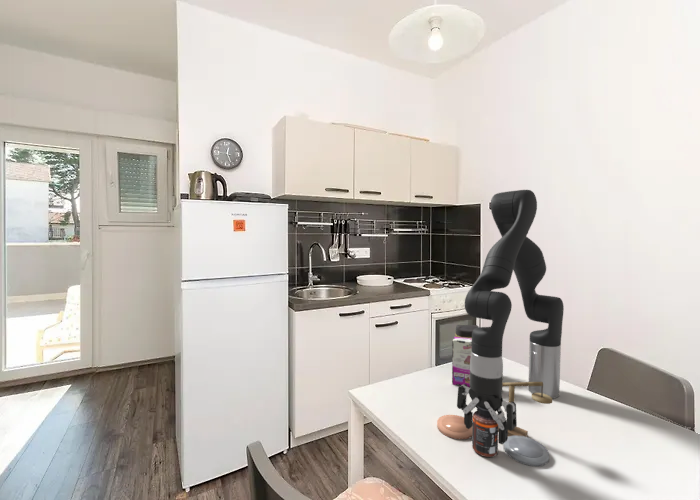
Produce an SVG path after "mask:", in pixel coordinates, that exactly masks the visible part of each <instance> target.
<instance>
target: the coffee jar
mask: <svg viewBox="0 0 700 500" xmlns="http://www.w3.org/2000/svg"><path fill="white" fill-rule="evenodd" d="M478 327H479V326H478V325H476V324H475V325H474V324H457V325H456V327H455V332H454V335H455V336H454V337H461V338H471V339H472V332H473V330H474V329H475V328H478Z"/></svg>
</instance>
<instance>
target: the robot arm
mask: <svg viewBox="0 0 700 500" xmlns="http://www.w3.org/2000/svg"><path fill="white" fill-rule="evenodd" d="M537 209H538V201H537V197H536V194H535V192H534V191H532V190H531V189H518V190H511V191H502V192H498V193H495V194H494V195H493V196H492V197H491V200H490V210H491V215H492V218H493V221H494V223H495V226H496V227H497V229H498V232H499V234H500V236H501V238H500V239H498V240H497V241H496V242H495V244H493V246H491V248H490V249H489V251H488V253H487V255H486V257H485V259H484V264H483V265H482V266H483V267H482V270H481V273H480V275H478V278H477V279H476V281H475V282H474V283H473V285H472V286H471V287H470V289H469V290H468V292H467V293H466V296H465V298H464V308H465V313H466V314H467V315H469V316H470V317H472V318H477V319H482V320H487V321H488V320H489V321H491V325H490V326H480V327H479V326H478V328H475V329H474V330H473V332H472V351H471V359H470V387H467V385H466V384H463V385H461V386H457V400H456V407H457V409H460V410H461V411H463V412H462V413H463V417H464V424H465V425H466V428H468V429H470V428H471V427H472V424H473V414H474V412H472V411H473V410H474V409H477V406H479V407H482V408H484V409H487V410H488V411H489V413H490V414H491V416H492V417H493V419H494V420H495V421H496V422H497V424H498V426H499V432H498V444H500V445H504V443H505V442H506V441H507V439H508V430H509V431H512V430H513V429H514V428H515V427H516V426H517V425H518V424H517V423H518V422H517V403H516V402H515V401H514V402H511V403H509V401H506V400H504V399H503V386H502V385H503V383H504V382H503V380H504V377H503V376H504V375H503V374H504V361H503V360H504V359H503V338H504V333H505V329H506V326H507V323H508V320H509V318H510V315H511V312H512V306H513V305H512V300H511V297H509V295H507V293H506V292H502V291H494V290H499V289H504V288H507V287H508V286H509V284H510V283H511V280H512V275H513V273H514V275H515V277H516V281H517V283H518V287H519V289H520V294H521V299H522V305H523V309H524V313H525V315H526V317H527V318H528V319H529V320H530V321H533V322H538V323H543V324H548V325H547V328H544V329H539V330H538V329H537V330H533V331H531V332H530V334H529V348H528V349H529V352H528V355H529V357H528V382H543V394H546V395H549V396H550V397H552V399H555V398H556V399H557V398H559V396H560V383H561V350H562V348H561V347H562V335H563V319H564V312H565V311H564V303H563V299H562V298H560V297H558V296H553V295H545V294H544V295H542V294H538V293H537V292H536V288H537V286H538V285H539V284H540V283H541V282H542V280H543V278H544V277H545V275H546V272H547V263H546V261H545V257H544V254H543V251H542V250H541V247H539V246H538V244H536V243H535V242H534V241H533V240H532V239H530V238H529V237H528V236H527V235H528V234H529V231H530V230H531V226H532V225H533V223H534V220H535V217H536V215H537ZM527 387H528V391H529V393H531V394H533V393H541V389H542V386H527ZM467 395H469V397H470V399H471V401H470V402H469V403H468V404H467ZM502 407H503V408H502ZM503 409H504V410H503ZM505 414H506V416H505ZM517 427H518V426H517Z"/></svg>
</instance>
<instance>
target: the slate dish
mask: <svg viewBox="0 0 700 500" xmlns="http://www.w3.org/2000/svg"><path fill="white" fill-rule="evenodd" d="M503 450H504V453H505V454H506V455H507V456H509V457H510V459H513V460H514V461H516V462H518V463H521V464H522V465H526V466H530V467H542V466H546V464H548V463H549V462H550V461H549V460H550V451H549V449H548V448H547V447H546V446H545V445H543V444H542V443H541V442H539V441H537V440H536V439H534V438H531V437H528V436H527V437H524V436H509V437H508V439H507V441H506V442H505V443H503Z"/></svg>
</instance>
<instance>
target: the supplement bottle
mask: <svg viewBox="0 0 700 500" xmlns="http://www.w3.org/2000/svg"><path fill="white" fill-rule="evenodd" d="M498 437H499V432H498V424H497V422H496V421H495V420H494V419H493V417H492V416H491V414H490V413H489V411H488V410H487V409H484V408H482V407H479V406H477V408H476V411H474V412H473V429H472V437H471V439H472V440H471V446H472V450H473V451H474V452H475V453H476V454H478V455H479V456H482V457H487V458H493V457H495V456H497V455H498V452H499V451H498V449H499V448H498V447H499V443H498Z"/></svg>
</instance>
